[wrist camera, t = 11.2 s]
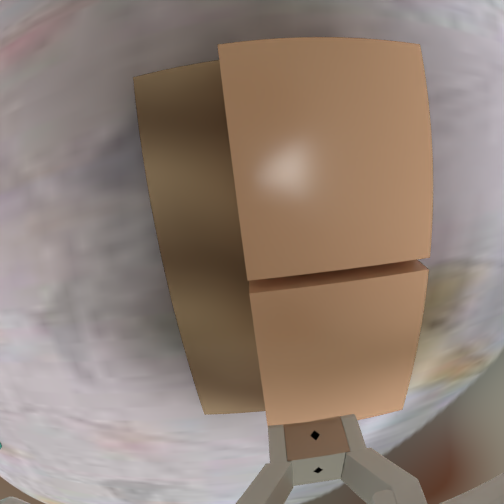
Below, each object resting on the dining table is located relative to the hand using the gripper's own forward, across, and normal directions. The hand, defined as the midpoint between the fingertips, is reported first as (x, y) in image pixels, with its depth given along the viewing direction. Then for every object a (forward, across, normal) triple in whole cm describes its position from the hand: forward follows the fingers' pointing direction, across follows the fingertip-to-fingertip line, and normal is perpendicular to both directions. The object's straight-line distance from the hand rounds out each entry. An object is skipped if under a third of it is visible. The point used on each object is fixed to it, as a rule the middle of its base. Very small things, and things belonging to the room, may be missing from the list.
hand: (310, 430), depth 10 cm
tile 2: (+4, +2, 0) cm, 4 cm away
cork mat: (+6, 0, -4) cm, 7 cm away
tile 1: (+4, +2, -9) cm, 10 cm away
